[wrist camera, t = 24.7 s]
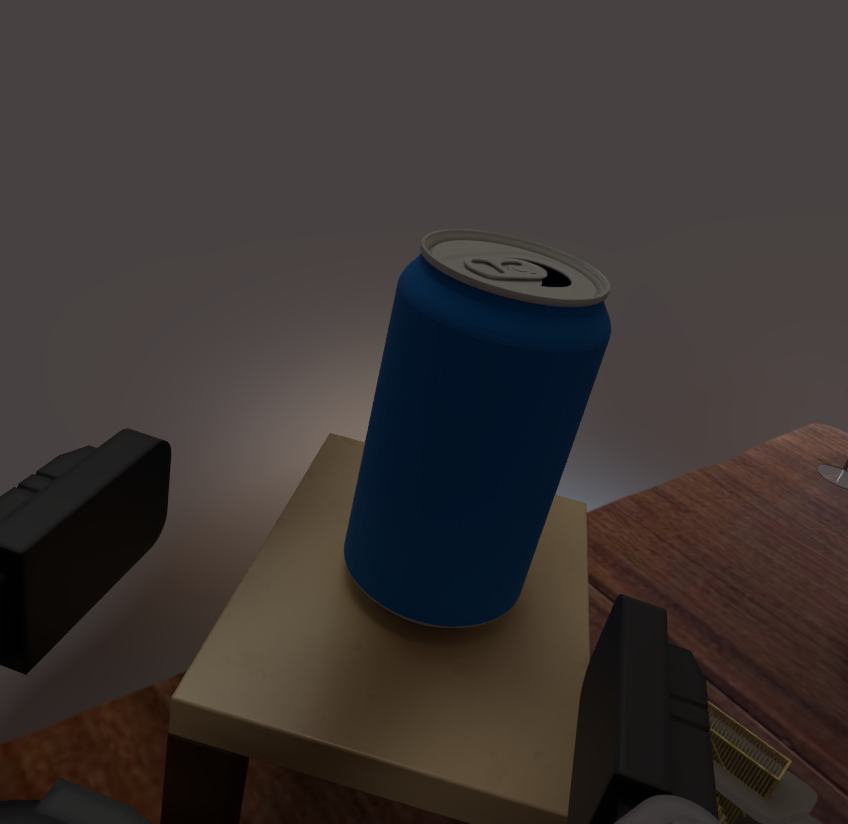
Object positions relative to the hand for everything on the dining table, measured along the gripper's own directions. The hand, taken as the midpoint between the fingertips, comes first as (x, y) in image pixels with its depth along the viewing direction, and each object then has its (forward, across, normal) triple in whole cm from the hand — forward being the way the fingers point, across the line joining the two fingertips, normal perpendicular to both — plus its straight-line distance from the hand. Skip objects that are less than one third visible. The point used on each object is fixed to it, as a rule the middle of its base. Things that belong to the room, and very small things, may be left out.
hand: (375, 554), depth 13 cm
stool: (+12, 0, +28) cm, 30 cm away
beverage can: (+12, 0, +10) cm, 16 cm away
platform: (+22, -16, +28) cm, 39 cm away
